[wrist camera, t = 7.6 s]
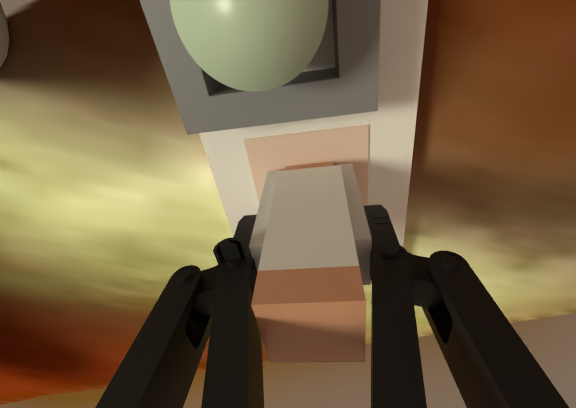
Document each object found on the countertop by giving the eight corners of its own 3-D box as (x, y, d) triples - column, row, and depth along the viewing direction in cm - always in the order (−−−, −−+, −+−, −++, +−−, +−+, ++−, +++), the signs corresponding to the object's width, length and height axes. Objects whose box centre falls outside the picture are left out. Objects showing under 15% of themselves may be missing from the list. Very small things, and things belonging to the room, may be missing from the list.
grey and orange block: (287, 209, 19) (270, 362, 11) (279, 161, 17) (251, 304, 9) (340, 204, 19) (364, 361, 11) (338, 155, 17) (365, 300, 9)
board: (248, 267, 24) (240, 303, 21) (131, -102, 12) (76, -135, 9) (397, 258, 23) (410, 296, 20) (436, -178, 10) (485, -245, 8)
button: (218, 82, 13) (198, 100, 11) (180, -63, 11) (141, -83, 8) (328, 66, 13) (333, 81, 10) (318, -93, 10) (321, -126, 7)
